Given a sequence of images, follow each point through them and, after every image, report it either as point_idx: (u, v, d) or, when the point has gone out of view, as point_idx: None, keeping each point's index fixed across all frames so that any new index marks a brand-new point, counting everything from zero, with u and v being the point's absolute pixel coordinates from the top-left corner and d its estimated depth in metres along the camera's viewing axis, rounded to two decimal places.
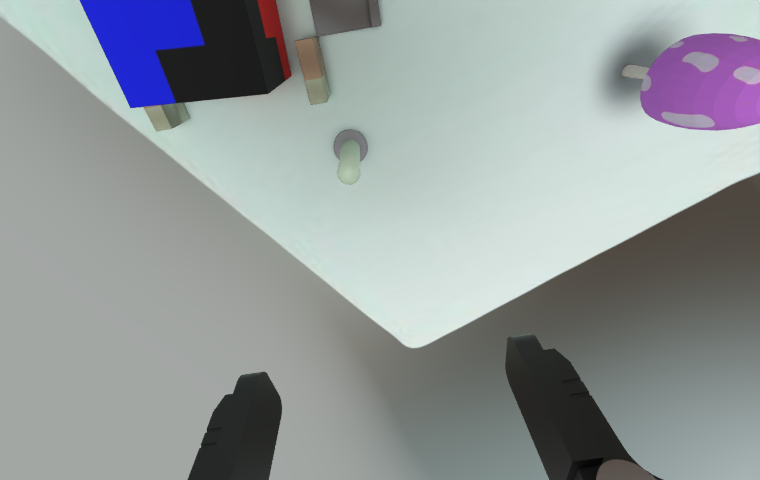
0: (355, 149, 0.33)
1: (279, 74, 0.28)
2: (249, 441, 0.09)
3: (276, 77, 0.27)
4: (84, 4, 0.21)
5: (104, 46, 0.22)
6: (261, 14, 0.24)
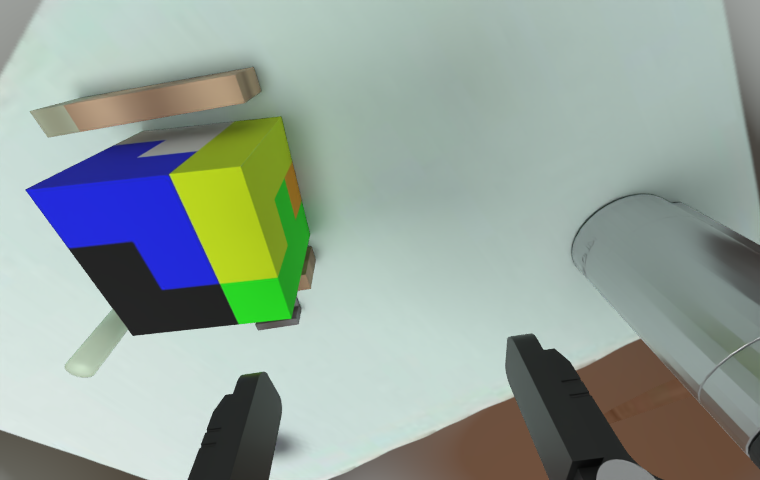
0: None
1: None
2: (249, 441, 0.09)
3: None
4: (158, 178, 0.15)
5: (110, 184, 0.15)
6: None
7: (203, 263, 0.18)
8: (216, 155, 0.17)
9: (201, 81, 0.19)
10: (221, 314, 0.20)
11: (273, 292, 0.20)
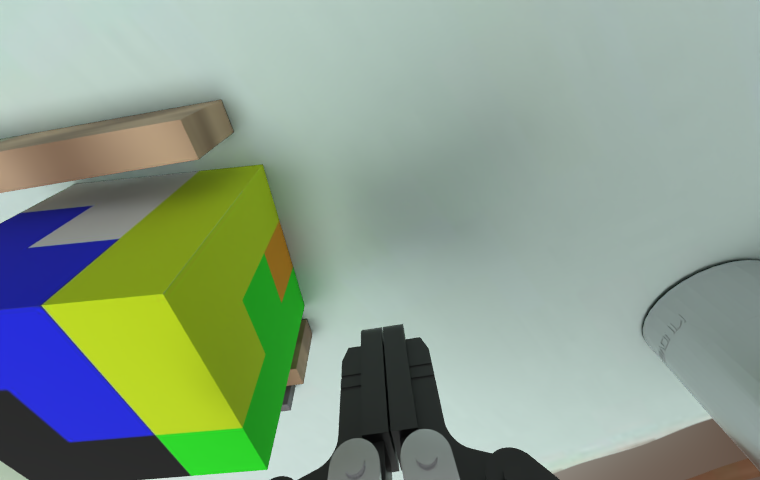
0: None
1: None
2: (386, 384, 0.10)
3: None
4: (25, 311, 0.09)
5: None
6: None
7: (126, 414, 0.12)
8: (140, 254, 0.11)
9: (130, 129, 0.12)
10: (164, 466, 0.14)
11: (238, 443, 0.13)
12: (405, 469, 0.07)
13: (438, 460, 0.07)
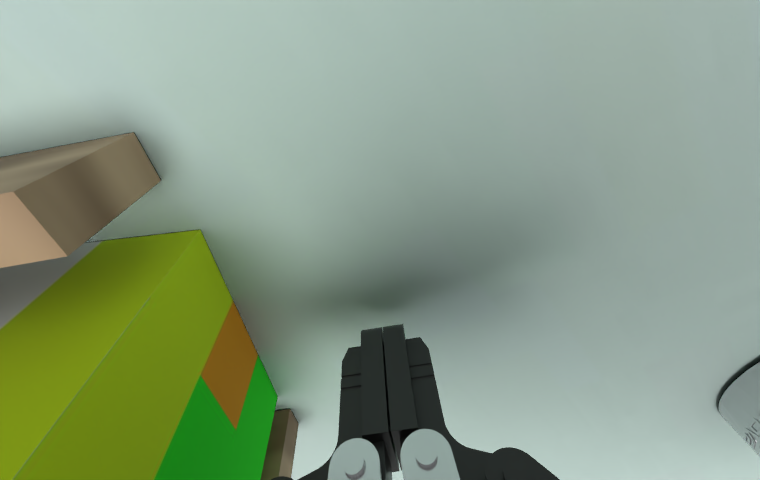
0: None
1: None
2: (386, 384, 0.10)
3: None
4: None
5: None
6: None
7: None
8: None
9: None
10: None
11: None
12: (405, 469, 0.07)
13: (438, 460, 0.07)
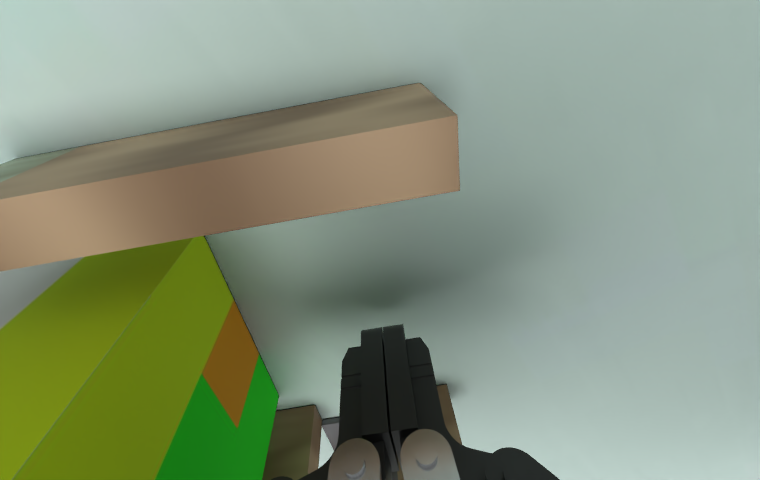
0: None
1: None
2: (386, 385, 0.10)
3: None
4: None
5: None
6: None
7: None
8: None
9: (350, 136, 0.06)
10: None
11: None
12: (405, 469, 0.07)
13: (438, 460, 0.07)
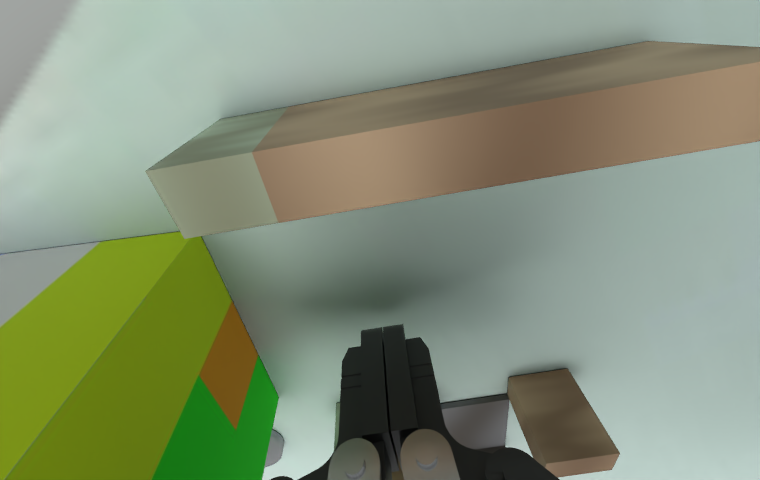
0: None
1: None
2: (386, 384, 0.10)
3: None
4: None
5: None
6: None
7: None
8: None
9: (700, 73, 0.06)
10: None
11: None
12: (405, 469, 0.07)
13: (438, 460, 0.07)
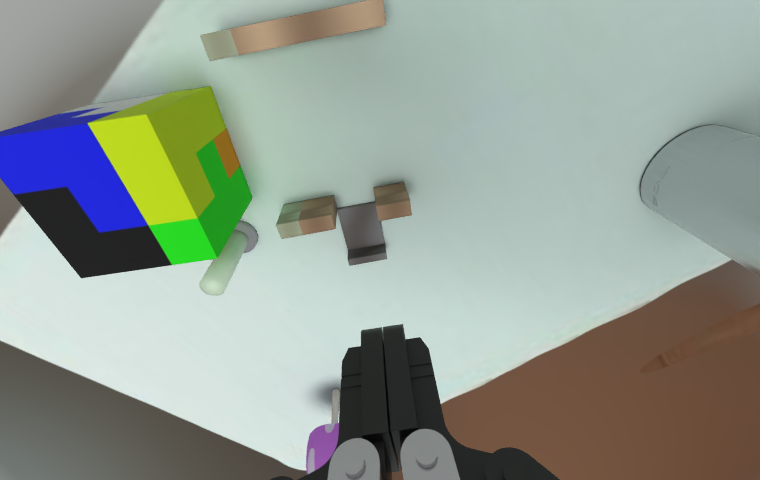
0: (239, 259, 0.32)
1: None
2: (386, 384, 0.10)
3: None
4: (79, 127, 0.19)
5: (39, 133, 0.19)
6: None
7: (131, 206, 0.21)
8: (134, 110, 0.20)
9: (352, 4, 0.21)
10: (155, 256, 0.23)
11: (197, 232, 0.23)
12: (405, 469, 0.07)
13: (438, 460, 0.07)
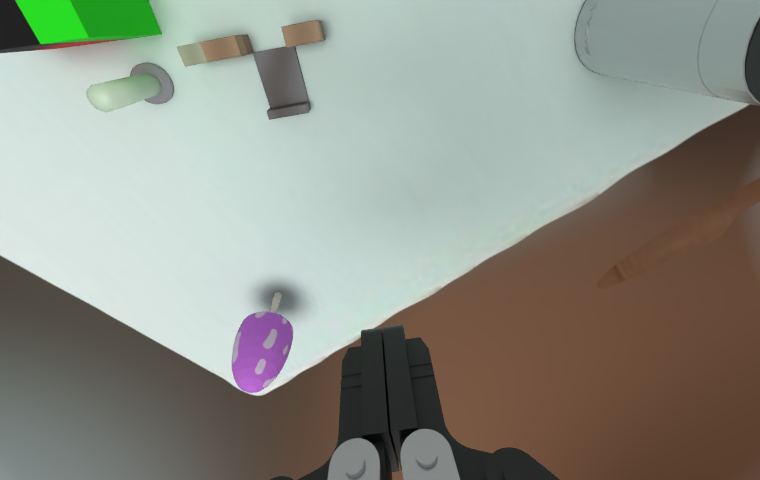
0: (145, 96, 0.30)
1: (17, 51, 0.27)
2: (386, 384, 0.10)
3: (2, 52, 0.26)
4: None
5: None
6: (54, 45, 0.25)
7: None
8: None
9: None
10: (20, 29, 0.22)
11: None
12: (405, 469, 0.07)
13: (438, 460, 0.07)
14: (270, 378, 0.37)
